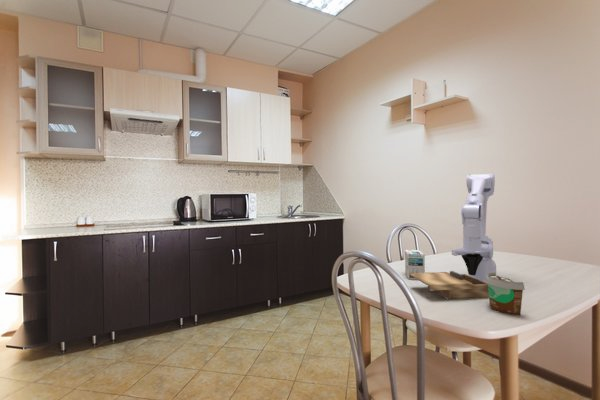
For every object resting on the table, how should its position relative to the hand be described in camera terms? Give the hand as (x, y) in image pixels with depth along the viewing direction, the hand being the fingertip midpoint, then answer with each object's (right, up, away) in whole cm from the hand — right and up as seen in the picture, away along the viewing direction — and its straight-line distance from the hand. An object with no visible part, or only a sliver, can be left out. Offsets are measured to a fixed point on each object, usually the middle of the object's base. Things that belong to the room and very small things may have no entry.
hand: (471, 274), depth 112 cm
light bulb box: (-13, -6, +21) cm, 25 cm away
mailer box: (-5, -6, 0) cm, 8 cm away
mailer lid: (-13, -3, -1) cm, 13 cm away
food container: (-1, -7, -17) cm, 18 cm away
